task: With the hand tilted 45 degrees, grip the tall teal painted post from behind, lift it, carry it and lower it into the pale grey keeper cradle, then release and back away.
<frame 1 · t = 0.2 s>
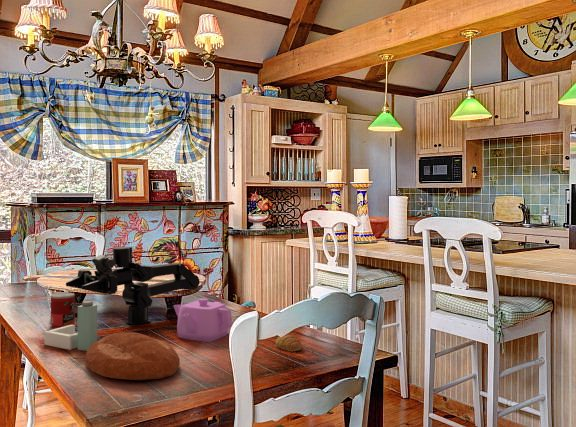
hand: (73, 286, 172), 17 cm above the table, tool horizontal, fingers open, 9 cm apart
pastry: (289, 348, 165), on the table
vase: (61, 317, 199), on the table
cradle: (71, 342, 166), on the table
post: (87, 348, 161), on the table
canned food: (62, 326, 187), on the table
teakettle: (201, 336, 176), on the table
bread: (132, 368, 145), on the table
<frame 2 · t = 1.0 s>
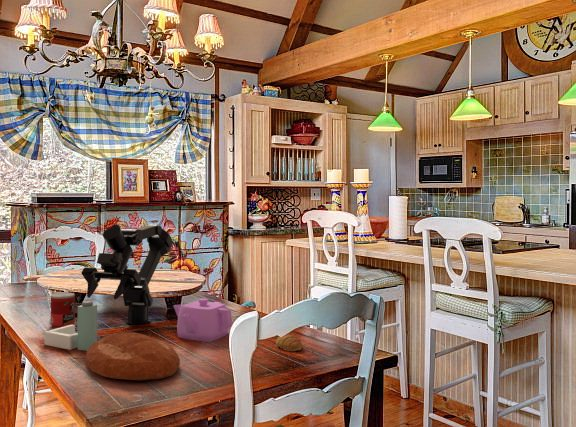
hand: (101, 297, 168), 14 cm above the table, tool tilted 45°, fingers open, 9 cm apart
nothing on the table moved.
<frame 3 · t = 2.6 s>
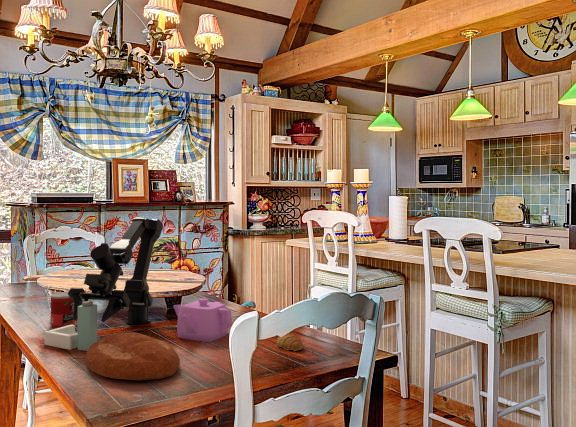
hand: (88, 320, 161), 8 cm above the table, tool tilted 45°, fingers open, 9 cm apart
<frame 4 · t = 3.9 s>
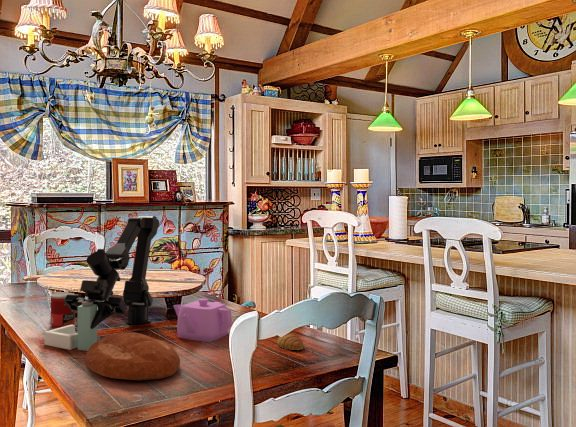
hand: (84, 327, 159), 7 cm above the table, tool tilted 45°, fingers closed on post, 4 cm apart
post: (87, 348, 161), on the table, touching gripper
everything else where it was.
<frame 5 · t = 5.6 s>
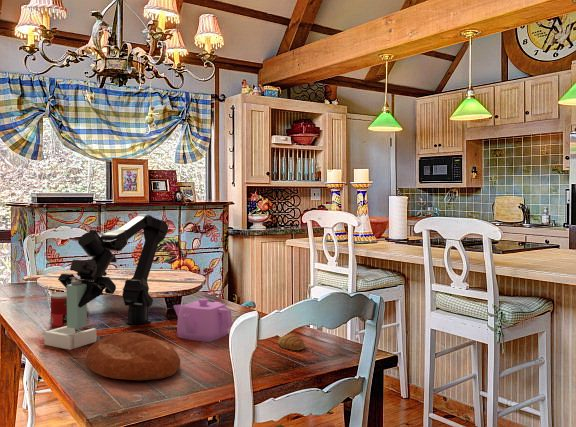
hand: (73, 306, 162), 12 cm above the table, tool tilted 45°, fingers closed on post, 4 cm apart
post: (77, 326, 164), point 6 cm above the table, touching gripper
when the fingers open (8 cm above the table, at t = 7.3 s): post drops 1 cm, resting in cradle.
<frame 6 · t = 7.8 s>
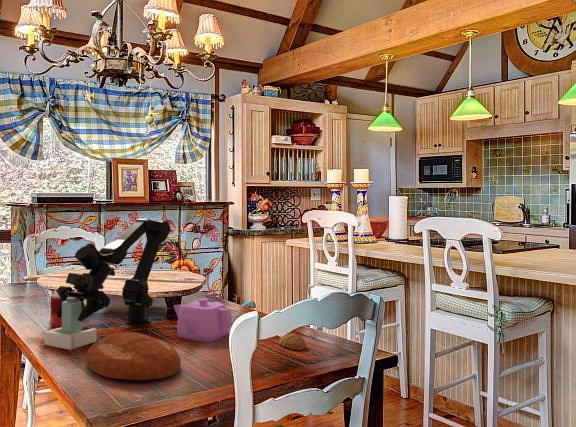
hand: (68, 318, 165), 8 cm above the table, tool tilted 45°, fingers open, 9 cm apart
post: (71, 342, 166), resting in cradle
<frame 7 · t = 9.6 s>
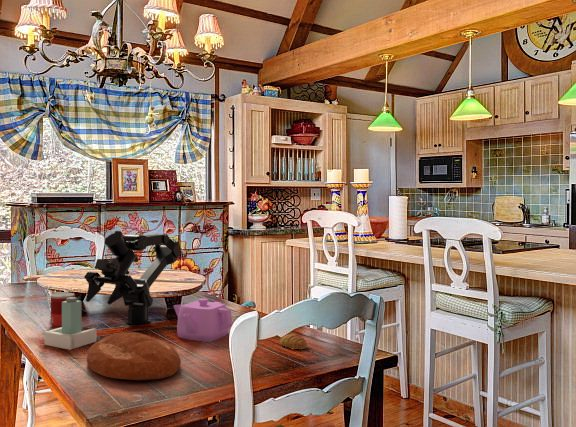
hand: (97, 302, 173), 11 cm above the table, tool tilted 45°, fingers open, 9 cm apart
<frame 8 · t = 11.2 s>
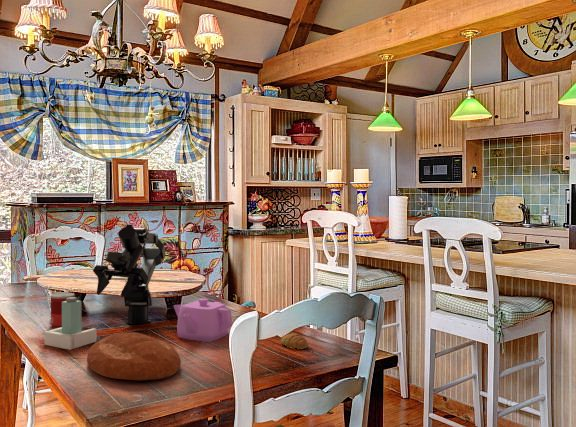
hand: (109, 295, 173), 14 cm above the table, tool tilted 45°, fingers open, 9 cm apart
at the end: post 0.0 cm off-centre on the cradle, point 0.0 cm above the cradle's base; post tilted 0°; the gripper is holding nothing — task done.
